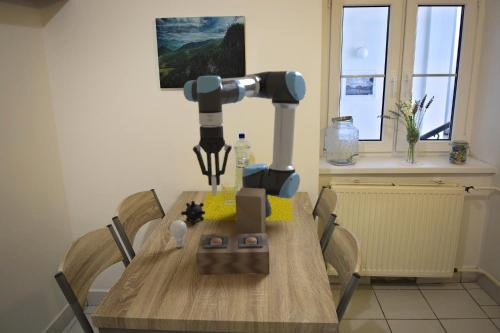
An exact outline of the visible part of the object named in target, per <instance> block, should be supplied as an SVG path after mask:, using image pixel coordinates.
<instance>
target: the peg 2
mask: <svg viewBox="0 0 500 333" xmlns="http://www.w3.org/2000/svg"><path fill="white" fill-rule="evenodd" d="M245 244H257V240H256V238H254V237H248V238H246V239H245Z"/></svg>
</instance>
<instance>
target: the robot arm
mask: <svg viewBox="0 0 500 333" xmlns="http://www.w3.org/2000/svg"><path fill="white" fill-rule="evenodd" d="M306 89H307V88H306V82H305V79H304V77H303V75H302V74H301V73H300V72H298V71H294V70H293V71H292V70H285V71H283V70H281V71H280V70H277V71H274V70H273V71H272V70H271V71H263V72H262V71H261V72H257V73H251V74H246V75H245V76H242V77H230V78H221V76H220V75H204V76H203V75H201V76H198V77H197V79H193V80H188V81H186V82H185V84H184V85H183V95H184V98H185V99H186V100H187V101H188V102H192V103H197V104H198V105H197V106H198V107H197V108H198V122H199V125H200V126H199V141H198V144H196V145H194V146H193V148H192V151H193V152H194V154H195V155H196V157H197V158H196V159H197V161H198V164H199V168H200V171H201V174H202V176H207V181H208V182H207V183H208V186H210V187H211V189H212V190H211V195H212V197H213V196H217V195H218V186H220V185H221V175H225V173H226V167H227V162H228V158H229V153H230V152H231V150H232V148H233V146H232V144H228V143H226V139H225V137H224V126H223V120H224V118H223V105H228V104H237V103H239V102H241V101H242V100H244V98H245V97H247V98H259V99H266V100H267V99H268V100H271V104H272V105H273V107H274V122H273V123H274V125H273V143H272V146H273V147H272V163H271V164H270V165H269V166H268V164H266V163H253V164H249V165H245V166H244V167H243V168H242V175H241V177H242V179H241V181H242V188H260V189H265V204H266V218H267V217H269V216H271V215H272V210H273V209H272V206H271V202H270V200H269V196H271V197H277V198H280V199H289V200H290V199H292V198H293V197H294V196H295V195H296V193H297V192H298V190H299V187H300V182H301V178H300V174H298V173H297V172H296V167H295V165H294V164H293V156H294V155H293V154H294V141H295V140H294V139H295V124H296V123H295V122H296V120H295V119H296V109H297V107H298V106H300V101H302V100H304V98H305V95H306V91H307V90H306ZM223 148H224V156H223V160H222V166H221V167H220V153H221V151H222V149H223ZM201 149H202V151H204V152H205V154H206V164H207V165H205V160H204V158H203V155H202V152H201ZM212 154H214V169H215V171H214V172H215V174H213V167H212V166H213V164H212ZM220 168H221V170H220Z"/></svg>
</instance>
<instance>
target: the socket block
mask: <svg viewBox="0 0 500 333" xmlns="http://www.w3.org/2000/svg"><path fill="white" fill-rule="evenodd" d="M248 237H254V238H256V240H257V244H245V239H246V238H248ZM213 238H220V239H222V245H210V240H211V239H213ZM195 255H196V273H197V275H198V276H204V275H205V276H207V275H208V276H209V275H211V276H213V275H216V276H217V275H257V274H258V275H259V274H260V275H261V274H263V275H265V274H270V247H269V237H268V233H267V232H266V233H257V234H237V233H216V234H215V233H213V234H212V233H211V234H210V233H209V234H208V233H207V234H201V235H200V238H199V242H198V245H197V249H196V252H195Z"/></svg>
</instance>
